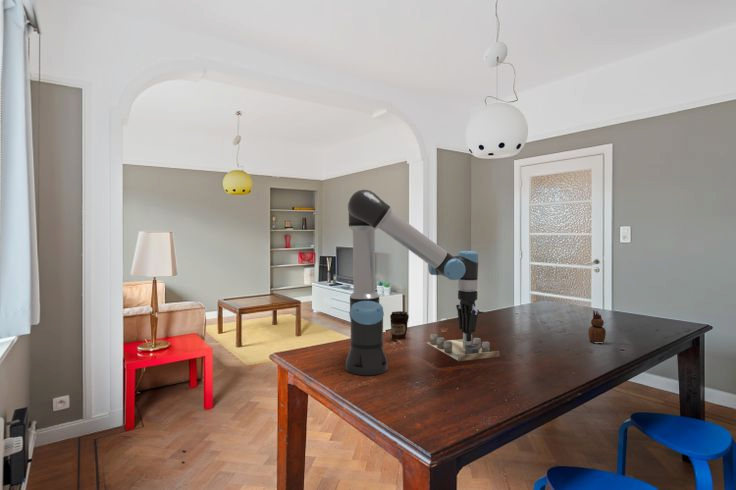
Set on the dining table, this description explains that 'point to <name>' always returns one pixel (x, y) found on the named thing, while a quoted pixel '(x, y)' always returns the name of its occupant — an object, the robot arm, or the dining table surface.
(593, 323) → the wooden figurine
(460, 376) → the dining table surface
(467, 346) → the nut
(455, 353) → the board
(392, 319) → the coffee cup
